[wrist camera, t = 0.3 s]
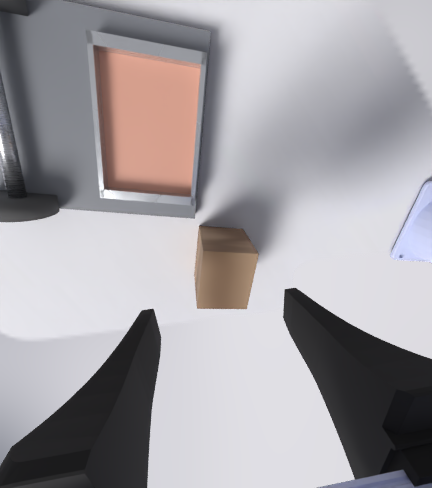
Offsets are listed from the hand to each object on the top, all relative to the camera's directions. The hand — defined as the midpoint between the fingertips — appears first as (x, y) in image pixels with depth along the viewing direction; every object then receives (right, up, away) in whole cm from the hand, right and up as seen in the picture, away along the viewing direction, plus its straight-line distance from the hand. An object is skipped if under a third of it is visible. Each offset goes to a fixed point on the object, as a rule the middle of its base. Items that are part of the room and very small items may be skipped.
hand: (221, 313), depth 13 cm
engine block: (0, +3, +9) cm, 10 cm away
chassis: (-8, +12, +4) cm, 15 cm away
